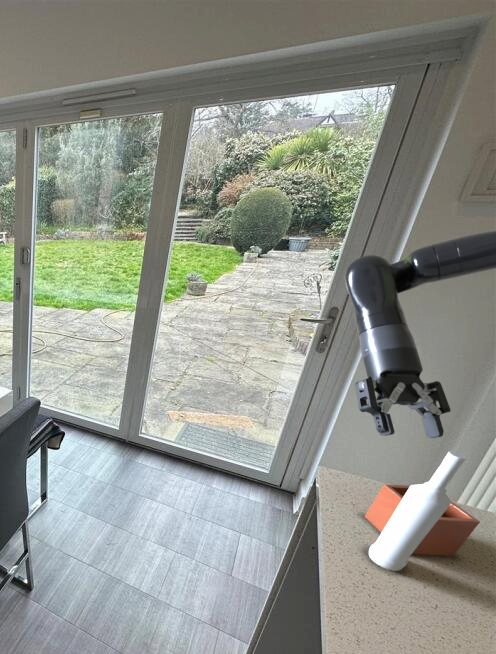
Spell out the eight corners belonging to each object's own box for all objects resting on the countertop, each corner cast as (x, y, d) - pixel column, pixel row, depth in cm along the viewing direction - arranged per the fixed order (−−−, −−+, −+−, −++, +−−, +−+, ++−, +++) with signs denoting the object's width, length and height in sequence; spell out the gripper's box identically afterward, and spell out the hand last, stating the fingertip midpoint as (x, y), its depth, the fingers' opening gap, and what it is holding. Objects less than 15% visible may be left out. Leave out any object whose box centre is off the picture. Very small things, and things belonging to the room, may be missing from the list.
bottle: (390, 574, 75) (467, 467, 63) (360, 552, 79) (427, 447, 68) (409, 568, 76) (489, 461, 65) (379, 546, 81) (448, 443, 69)
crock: (409, 518, 88) (431, 486, 84) (453, 555, 79) (480, 521, 75) (364, 516, 88) (384, 484, 84) (403, 553, 79) (427, 519, 75)
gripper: (368, 343, 75) (391, 430, 70) (447, 347, 75) (475, 434, 70) (335, 358, 82) (353, 438, 77) (407, 361, 82) (430, 441, 77)
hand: (411, 436), depth 74 cm, fingers open, 8 cm apart
